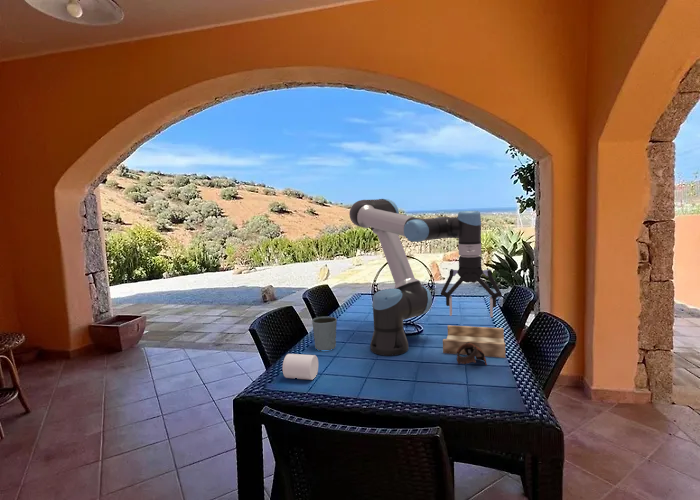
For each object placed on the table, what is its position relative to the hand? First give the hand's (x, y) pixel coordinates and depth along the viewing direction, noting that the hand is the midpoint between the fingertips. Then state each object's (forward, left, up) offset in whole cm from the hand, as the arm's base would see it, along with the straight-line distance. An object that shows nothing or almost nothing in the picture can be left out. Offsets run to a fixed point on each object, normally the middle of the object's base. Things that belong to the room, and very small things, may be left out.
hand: (470, 315), depth 133 cm
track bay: (0, +15, -17) cm, 23 cm away
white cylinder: (-55, -24, -17) cm, 62 cm away
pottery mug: (0, -1, -17) cm, 17 cm away
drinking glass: (-58, +2, -17) cm, 60 cm away
